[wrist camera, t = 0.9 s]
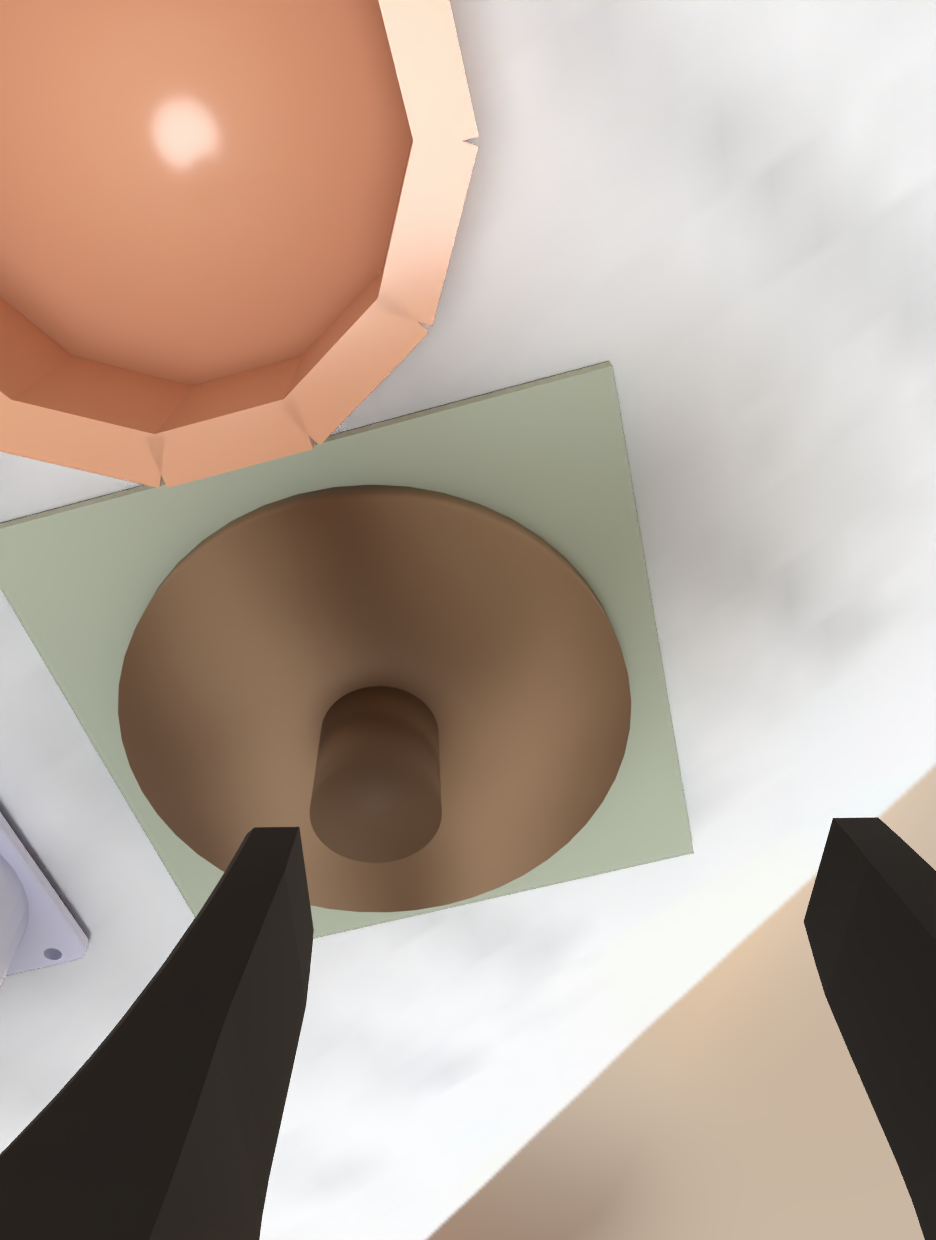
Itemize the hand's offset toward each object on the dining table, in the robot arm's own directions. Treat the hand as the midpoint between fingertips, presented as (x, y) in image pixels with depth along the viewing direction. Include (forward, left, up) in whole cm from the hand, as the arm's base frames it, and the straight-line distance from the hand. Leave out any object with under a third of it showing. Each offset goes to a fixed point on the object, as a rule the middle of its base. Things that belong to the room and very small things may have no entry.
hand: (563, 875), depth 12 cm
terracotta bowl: (-4, +10, -11) cm, 15 cm away
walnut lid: (-4, -4, -11) cm, 12 cm away
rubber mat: (-4, -4, -11) cm, 12 cm away
